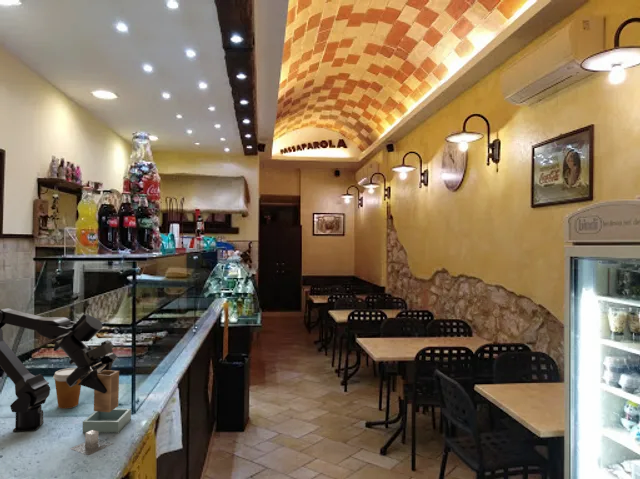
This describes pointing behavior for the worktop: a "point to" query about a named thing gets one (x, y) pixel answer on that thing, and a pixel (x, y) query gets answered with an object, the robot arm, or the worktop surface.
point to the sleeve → (110, 398)
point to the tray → (107, 421)
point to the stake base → (90, 451)
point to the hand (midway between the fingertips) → (110, 389)
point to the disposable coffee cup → (66, 389)
